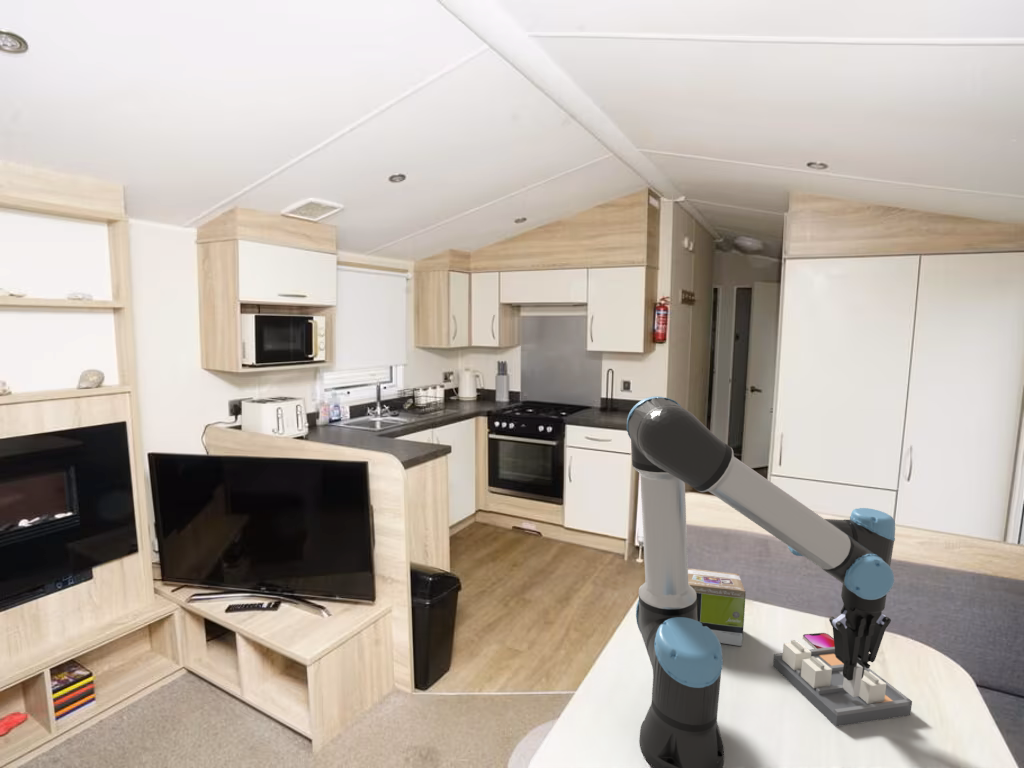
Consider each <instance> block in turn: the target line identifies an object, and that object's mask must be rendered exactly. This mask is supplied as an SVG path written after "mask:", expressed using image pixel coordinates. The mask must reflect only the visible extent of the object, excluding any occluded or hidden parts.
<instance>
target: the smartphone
mask: <svg viewBox="0 0 1024 768" xmlns="http://www.w3.org/2000/svg"><path fill="white" fill-rule="evenodd" d="M802 639H803V640H804V641H805V643H807V644H808V645H809V646H810V647H812V648H813V649H819V648H828V647H835V646H834V637H833V636H831V635H830V634H829V633H826V632H818V633H817V632H815V633H804V634H802Z"/></svg>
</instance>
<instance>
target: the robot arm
mask: <svg viewBox="0 0 1024 768" xmlns="http://www.w3.org/2000/svg"><path fill="white" fill-rule="evenodd" d="M626 432H627V435H628V437H629V439H630V443H631V444H630V446H631V461H632V464H631V466H632V468H633V469H634V470H635V471H636V472H638V473H639V477H640V492H641V493H640V494H641V515H642V539H643V554H644V555H643V557H644V558H643V559H644V561H643V562H644V579H645V580H644V581H645V582H644V583H642V584H641V585H640V586H639V588H638V600H637V603H636V607H635V618H636V624H637V628H638V630H639V632H640V634H641V637H642V640H643V643H644V646H645V648H646V652H647V655H648V658H649V660H650V664H651V667H652V675H653V676H652V689H651V690H652V692H651V704H650V706H649V708H648V710H647V713H646V715H645V717H644V720H643V721H642V723H641V724H640V725H641V726H640V728H639V729H640V730H639V748H640V752H641V754H642V755H643V757H644V758H645V761H647V762H648V764H649V765H650V766H651V767H652V768H724V762H725V747H724V743H723V738H722V735H721V731H720V728H719V727H720V726H719V723H718V710H719V709H718V708H719V701H720V700H719V699H720V698H719V697H720V689H721V687H720V686H721V680H722V679H721V677H722V670H723V665H724V664H723V649H722V648H723V647H722V643H720V641H719V639H718V638H717V636H716V635H715V633H714V632H713V631H712V630H711V629H710V628H708V627H707V626H702V623H700V622H698V617H697V594H696V592H695V590H694V589H693V588H692V587H691V586H690V585H689V584H688V568H689V559H688V558H689V557H688V536H687V535H688V533H687V509H686V507H687V505H686V502H687V501H686V484H687V485H688V486H690V487H691V488H693V489H694V490H695V491H697V492H700V493H706V492H709V493H710V494H712V495H714V496H715V497H716V498H717V499H719V500H721V501H722V502H724V503H725V504H727V505H728V506H729V507H731V508H732V509H734V510H736V512H738V513H740V514H741V515H743V516H744V517H746V518H747V519H749V521H752V522H753V523H755V524H756V525H757V526H759V528H762V529H763V530H764V531H766V532H767V533H769V534H770V535H772V536H773V537H775V538H776V539H778V540H779V541H781V542H782V543H783V544H785V545H786V546H787V547H788V550H789V551H790V553H791V554H793V555H794V556H797V557H802V558H803V557H804V558H806V559H807V560H809V561H810V562H812V563H813V564H815V565H816V566H817V567H819V568H820V569H821V570H823V571H824V572H825V573H827V574H828V575H830V576H832V577H833V578H834V579H836V580H837V581H839V583H841V584H842V586H841V595H840V597H841V600H842V602H843V606H842V607H841V610H840V615H838V616H837V617H834V616H830V617H829V623H830V625H831V627H832V635H833V636H832V637H833V638H834V646H835V656H836V658H837V659H838V660H840V661H841V662H842V663H843V664H844V667H843V676H844V681H843V689H844V690H845V691H846V692H848V693H849V694H850V695H851V696H852V697H857V696H859V693H860V686H861V679H862V678H863V676H864V668H869V669H871V665H870V664H869V662H870V663H874V662H875V661H876V658H877V655H878V652H879V649H880V647H881V644H882V642H883V638H884V635H885V632H886V630H887V628H888V626H889V625H890V624H891V621H892V620H891V618H889V617H888V616H887V615H885V614H883V611H885V607H886V601H887V594H888V593H889V592H890V590H892V588H893V586H894V583H895V575H894V572H893V569H892V567H891V563H892V556H893V552H894V551H893V549H894V543H895V541H896V537H895V536H896V520H895V519H894V518H893V516H892V515H889V514H888V513H886V512H884V511H882V510H879V509H873V508H868V507H859V508H853V510H852V511H851V514H850V516H849V519H835V518H834V519H832V518H824V517H822V516H821V515H820V514H818V513H817V512H815V511H814V510H812V509H811V508H809V507H808V506H806V505H805V504H803V503H802V502H801V501H799V500H797V499H796V498H794V497H793V496H792V495H790V494H789V493H787V492H786V491H784V490H783V488H780V487H779V486H777V484H774V483H773V482H772V481H770V480H769V479H767V478H766V477H764V476H763V475H762V474H760V473H758V472H757V471H756V470H754V469H753V468H751V467H750V466H748V465H747V464H746V463H744V462H743V461H742V460H740V459H738V457H736V456H735V453H734V450H733V448H732V447H731V446H729V445H728V444H727V443H725V442H724V441H723V440H722V439H720V438H719V437H718V436H716V435H715V434H714V433H713V432H712V431H711V430H710V429H709V428H708V427H707V426H705V424H703V423H702V422H701V420H700V419H698V417H696V416H695V415H694V413H692V412H691V411H689V410H687V409H686V408H684V407H682V406H681V404H680V403H678V402H677V401H676V400H674V399H671V398H669V397H664V396H655V395H654V396H649V397H646V398H643V399H641V400H640V401H638V402H637V403H636V404H635V405H633V407H632V408H631V409H630V411H629V413H628V414H627V418H626Z"/></svg>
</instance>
